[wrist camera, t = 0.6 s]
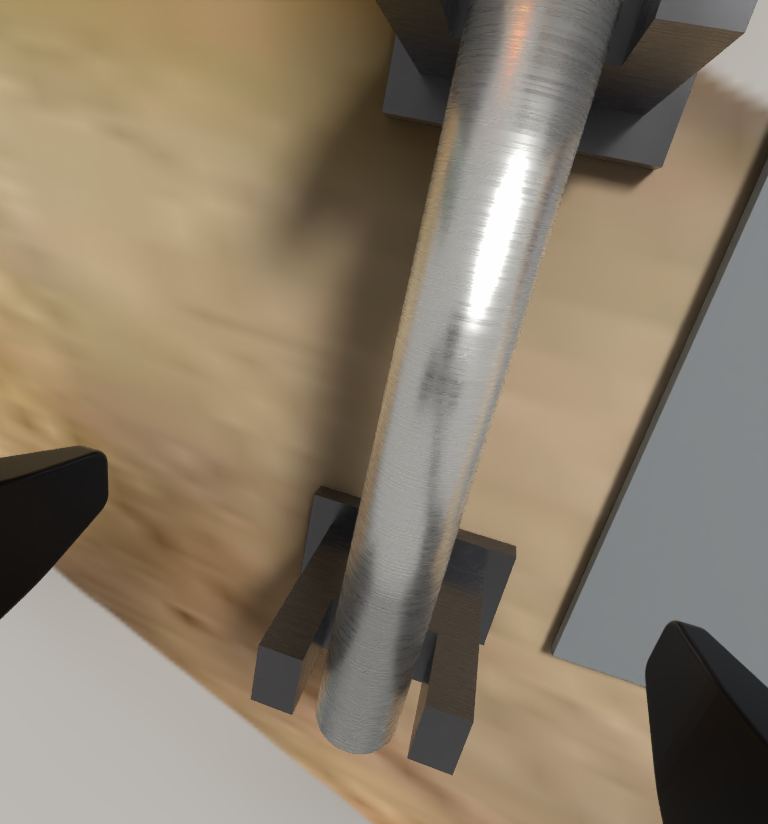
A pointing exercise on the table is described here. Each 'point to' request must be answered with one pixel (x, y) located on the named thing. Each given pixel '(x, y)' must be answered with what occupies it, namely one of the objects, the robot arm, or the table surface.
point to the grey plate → (693, 490)
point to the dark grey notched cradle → (472, 554)
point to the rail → (458, 335)
